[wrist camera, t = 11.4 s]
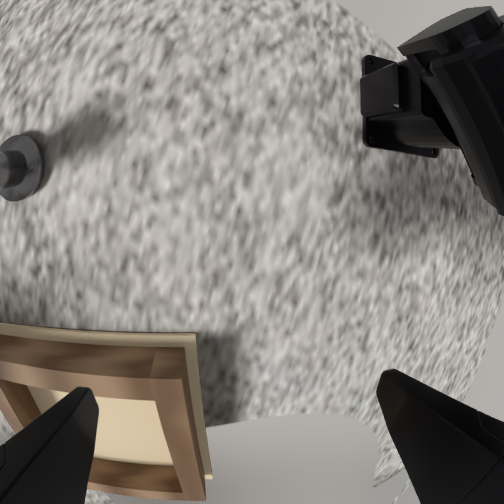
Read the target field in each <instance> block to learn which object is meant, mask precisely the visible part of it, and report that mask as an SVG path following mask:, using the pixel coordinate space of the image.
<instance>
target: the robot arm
mask: <svg viewBox="0 0 504 504" xmlns="http://www.w3.org/2000/svg"><path fill="white" fill-rule="evenodd" d="M397 48H398V50H399V51H400V52H401V54H402V55H403V56H406V57H407V59H406V60H404V61H401V62H399V63H397V62H393V61H390V60H387V59H383V58H380V57H376V56H372V55H367V56H365V57H363V58H362V78H361V79H360V92H361V114H362V116H363V143H364V145H365V146H366V147H370V148H377V149H383V150H390V151H396V152H402V153H408V154H413V155H419V156H424V157H429V158H436V157H438V154H439V148H448V149H461V151H462V153H463V155H464V157H465V159H466V161H467V164H468V166H469V168H470V171H471V173H472V174H471V177H472V179H473V182H474V184H475V185H477V186H478V187H479V188H480V190H481V193H482V195H483V197H484V199H485V200H487V201H488V202H489V203H490V204H491V205H492V206H493V207H495V208H496V209H497V213H498V214H500V215H503V216H504V15H503V16H500V17H498V16H497V14H496V12H495V11H494V9H493V8H492V7H491V6H484V7H475V8H466V9H463V10H461V11H459V12H457V13H455V14H452V15H450V16H448V17H446V18H444V19H441V20H439V21H438V22H436V23H434V24H433V25H431V26H429V27H428V28H426V29H425V30H423V31H422V32H420V33H418V34H417V35H416V36H414V37H412V38H411V39H409V40H408V41H406V42H405V43H403V44H402V45H400V46H399V47H397ZM368 60H370V62H371V65H370V64H369V63H368ZM369 137H371V138H372V143H370V142H369ZM432 149H433V154H432ZM376 394H377V398H378V401H379V404H380V406H381V409H382V412H383V415H384V418H385V422H386V425H387V428H388V430H389V433H390V435H391V438H392V440H393V442H394V444H395V446H396V448H397V451H398V453H399V455H400V457H401V459H402V462H403V464H404V466H405V468H406V471H407V473H408V475H409V478H410V480H411V482H412V484H413V487H414V489H415V491H416V494H417V496H418V498H419V500H420V503H421V504H504V422H502V421H500V420H498V419H495V418H493V417H491V416H489V415H486V414H484V413H482V412H480V411H477V410H476V409H474V408H472V407H470V406H468V405H465V404H464V403H462V402H459V401H457V400H455V399H453V398H451V397H449V396H447V395H445V394H443V393H441V392H439V391H437V390H435V389H433V388H431V387H429V386H427V385H426V384H424V383H422V382H420V381H418V380H416V379H414V378H412V377H410V376H408V375H406V374H404V373H402V372H400V371H398V370H396V369H390V370H385V371H383V373H382V374H381V377H380V380H379V384H378V387H377V391H376ZM98 417H99V406H98V404H97V401H96V399H95V397H94V394H93V392H92V390H91V389H90V388H89V387H82V386H78V387H76V388H75V389H74V390H72V391H71V392H70V393H68V394H67V395H66V396H65V397H63V398H62V399H61V400H59V401H58V402H57V403H56V404H54V405H53V406H52V407H50V408H49V409H48V410H47V411H45V412H44V413H43V414H41V415H40V416H39V417H37V418H36V419H35V420H34V421H32V422H31V423H30V424H28V425H27V426H26V427H25V428H23V429H22V430H21V431H19V432H18V433H17V434H16V435H14V436H13V437H12V438H10V439H9V440H8V441H6V442H5V444H2V445H1V446H0V504H84V502H85V497H86V491H87V486H88V480H89V475H90V471H91V466H92V461H93V456H94V451H95V442H96V433H97V425H98Z"/></svg>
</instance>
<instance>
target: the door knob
mask: <svg viewBox="0 0 504 504" xmlns="http://www.w3.org/2000/svg"><path fill="white" fill-rule="evenodd" d="M44 164H45V163H44V155H43V151H42V149H41V147H40V145H39V143H38V142H37V141H36V140H35V139H33V138H32V137H30V136H23V135H16V136H12V137H10V138H8V139H7V140H6V141H4V142H3V144H2V145H1V146H0V195H1V196H2V197H3V198H5V199H6V200H9V201H19V200H23V199H26V198H28V197H30V196H31V195H32V194H34V192H35V191H36V190H37V189H38V187H39V185H40V183H41V181H42V178H43V174H44Z"/></svg>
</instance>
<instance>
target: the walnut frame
mask: <svg viewBox="0 0 504 504" xmlns="http://www.w3.org/2000/svg"><path fill="white" fill-rule="evenodd" d="M27 385H28V386H33V387H38V388H43V389H49V390H54V391H60V392H67V393H70V392H71V391H72V390H74V389H75V388H76V387H78V386H82V387H89V388H90V389H91V390H92V392H93V394H94V396H97V397H106V398H117V399H130V400H146V401H155V403H156V407H157V411H158V415H159V418H160V422H161V426H162V429H163V433H164V436H165V439H166V443H167V446H168V449H169V452H170V456H171V459H172V462H173V465H174V466H162V465H148V464H136V463H127V462H119V461H111V460H105V459H98V458H93V461H92V466H91V471H90V475H89V480H88V486H87V489H91V490H96V491H101V492H107V493H113V494H119V495H126V496H134V497H142V498H153V499H166V500H189V501H193V500H194V501H200V500H201V501H205V500H206V491H205V474H204V469H203V464H202V459H201V454H200V448H199V443H198V437H197V431H196V425H195V419H194V413H193V407H192V400H191V393H190V386H189V379H188V371H187V363H186V355H185V347H135V346H112V345H95V344H81V343H69V342H58V341H49V340H40V339H32V338H24V337H17V336H10V335H3V334H0V410H1V412H2V413H3V415H4V417H5V418H6V420H7V421H8V423H9V425H10V426H11V428H12V429H13V431H14V432H15V434H17V433H18V432H19V431H21V430H22V429H23V428H25V427H26V426H27V425H28V424H30V423H31V422H32V421H34V420H35V419H36V418H37V417H39V416H40V415H41V412H40V410H39V408H38V406H37V405H36V403H35V401H34V399H33V397H32V395H31V393H30V391H29V389H28V387H27Z"/></svg>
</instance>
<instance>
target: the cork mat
mask: <svg viewBox="0 0 504 504" xmlns="http://www.w3.org/2000/svg"><path fill="white" fill-rule="evenodd" d="M0 334H3V335H10V336H17V337H24V338H32V339H40V340H49V341H58V342H69V343H81V344H95V345H112V346H135V347H185V355H186V363H187V371H188V379H189V386H190V393H191V400H192V407H193V413H194V419H195V425H196V431H197V437H198V443H199V448H200V454H201V459H202V464H203V469H204V474H205V479H213V475H212V469H211V463H210V456H209V449H208V442H207V435H206V428H205V420H204V412H203V404H202V396H201V387H200V377H199V367H198V357H197V346H196V334H195V333H125V332H101V331H83V330H68V329H56V328H45V327H34V326H25V325H16V324H8V323H1V322H0ZM27 387H28V389H29V391H30V393H31V395H32V397H33V399H34V401H35V403H36V405H37V406H38V408H39V410H40V412H41V414H43V413H44V412H45V411H47V410H48V409H49V408H50V407H52V406H53V405H54V404H56V403H57V402H58V401H59V400H61V399H62V398H63V397H65V396H66V395H67V394H68V393H67V392H60V391H54V390H49V389H43V388H38V387H33V386H28V385H27ZM94 397H95V399H96V401H97V404H98V406H99V417H98V425H97V433H96V442H95V451H94V456H93V458H98V459H105V460H111V461H119V462H127V463H136V464H148V465H162V466H174V465H173V462H172V459H171V456H170V452H169V449H168V446H167V443H166V439H165V436H164V433H163V429H162V426H161V422H160V418H159V415H158V411H157V407H156V403H155V401H146V400H130V399H117V398H106V397H97V396H94Z"/></svg>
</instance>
